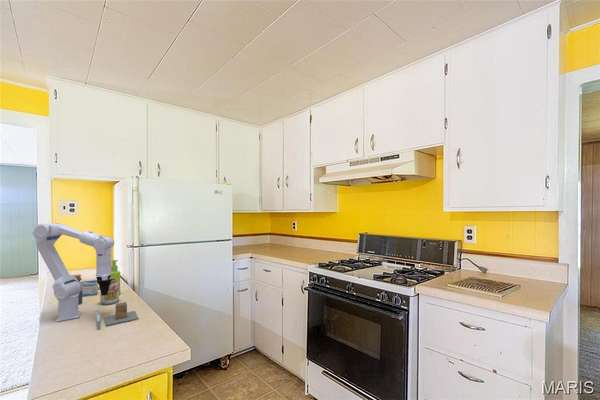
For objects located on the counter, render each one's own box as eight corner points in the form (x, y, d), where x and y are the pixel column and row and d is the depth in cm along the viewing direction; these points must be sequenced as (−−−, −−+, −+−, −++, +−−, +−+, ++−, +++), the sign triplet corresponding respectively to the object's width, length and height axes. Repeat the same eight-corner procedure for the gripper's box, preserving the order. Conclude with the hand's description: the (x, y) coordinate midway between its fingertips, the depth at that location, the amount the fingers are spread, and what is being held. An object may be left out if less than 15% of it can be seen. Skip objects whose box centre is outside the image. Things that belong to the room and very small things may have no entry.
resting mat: (104, 318, 130) (104, 316, 130) (134, 312, 137) (134, 310, 138) (105, 326, 121) (105, 325, 121) (138, 319, 128) (138, 318, 128)
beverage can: (98, 307, 146) (98, 282, 146) (97, 303, 153) (97, 280, 153) (120, 303, 152) (120, 279, 152) (117, 299, 158) (117, 277, 159)
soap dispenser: (109, 294, 169) (109, 259, 169) (122, 293, 169) (122, 259, 170) (103, 297, 163) (103, 261, 163) (116, 296, 163) (116, 260, 164)
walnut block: (115, 317, 130) (115, 303, 130) (126, 315, 132) (126, 301, 132) (116, 319, 126) (116, 305, 126) (127, 317, 129) (126, 304, 129)
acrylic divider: (96, 318, 130) (96, 310, 130) (98, 317, 131) (98, 310, 131) (97, 330, 117) (97, 321, 117) (100, 329, 118) (100, 320, 118)
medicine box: (79, 297, 164) (79, 281, 164) (81, 295, 168) (81, 280, 168) (96, 295, 167) (96, 280, 168) (98, 293, 171) (98, 278, 172)
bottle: (74, 306, 148) (74, 276, 148) (65, 306, 149) (65, 276, 149) (85, 302, 153) (85, 274, 154) (76, 302, 155) (76, 273, 155)
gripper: (115, 264, 130) (115, 295, 130) (113, 260, 142) (113, 288, 141) (96, 266, 126) (96, 298, 125) (95, 262, 138) (95, 291, 137)
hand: (103, 293), depth 133 cm, fingers open, 7 cm apart
